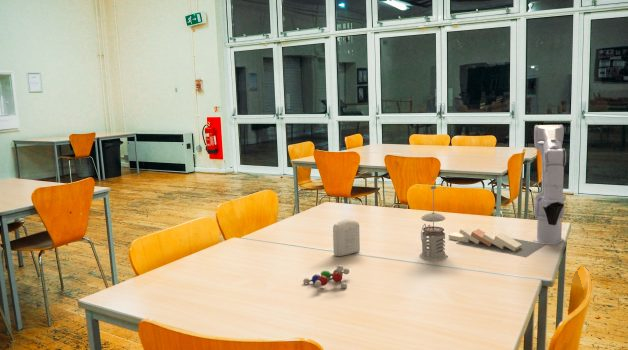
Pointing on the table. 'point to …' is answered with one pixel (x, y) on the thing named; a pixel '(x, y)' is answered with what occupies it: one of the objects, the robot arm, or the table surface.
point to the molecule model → (326, 276)
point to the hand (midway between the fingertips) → (552, 224)
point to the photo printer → (346, 237)
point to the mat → (524, 251)
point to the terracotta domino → (480, 237)
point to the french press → (436, 241)
